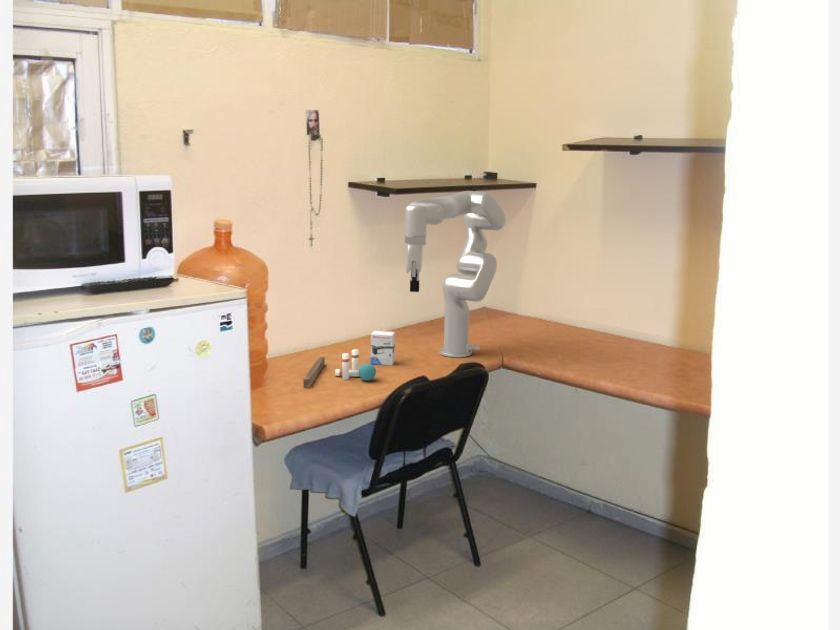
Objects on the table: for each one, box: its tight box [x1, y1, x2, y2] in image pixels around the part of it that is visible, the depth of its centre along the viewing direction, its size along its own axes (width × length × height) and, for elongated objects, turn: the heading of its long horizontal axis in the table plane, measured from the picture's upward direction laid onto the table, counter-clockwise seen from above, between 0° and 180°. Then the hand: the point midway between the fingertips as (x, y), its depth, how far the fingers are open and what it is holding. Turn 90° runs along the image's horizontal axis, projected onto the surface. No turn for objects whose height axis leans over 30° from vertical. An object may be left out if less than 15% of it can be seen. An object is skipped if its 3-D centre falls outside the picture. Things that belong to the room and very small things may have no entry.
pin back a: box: [351, 348, 360, 370], centre depth 284 cm, size 2×2×9 cm
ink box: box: [370, 330, 396, 366], centre depth 298 cm, size 8×5×12 cm, turn 82°
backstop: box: [302, 356, 326, 389], centre depth 282 cm, size 2×28×3 cm, turn 176°
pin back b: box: [341, 352, 350, 381], centre depth 278 cm, size 2×2×9 cm
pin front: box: [334, 368, 361, 378], centre depth 282 cm, size 2×2×9 cm
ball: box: [359, 363, 377, 382], centre depth 278 cm, size 6×6×6 cm
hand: (414, 291), depth 286 cm, fingers closed
